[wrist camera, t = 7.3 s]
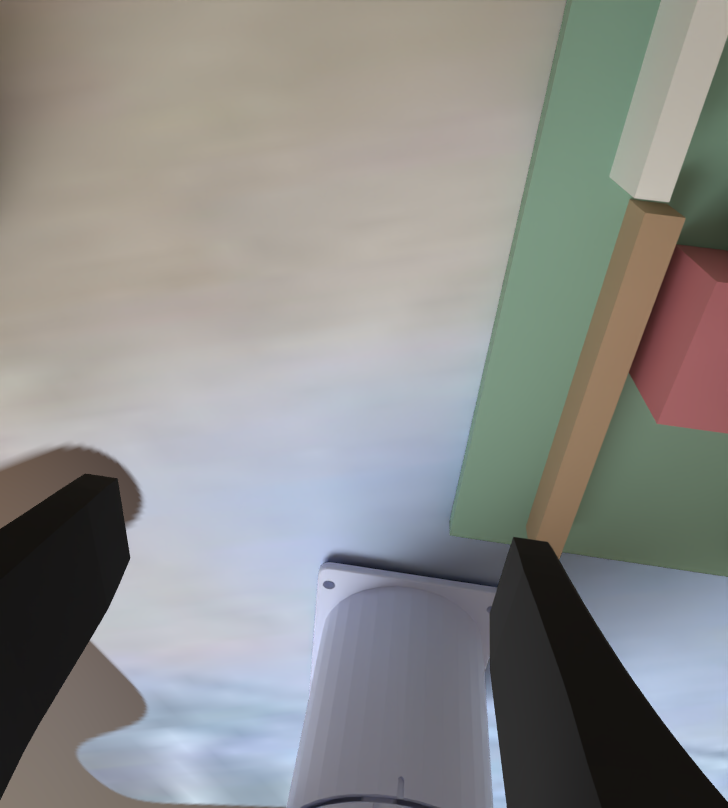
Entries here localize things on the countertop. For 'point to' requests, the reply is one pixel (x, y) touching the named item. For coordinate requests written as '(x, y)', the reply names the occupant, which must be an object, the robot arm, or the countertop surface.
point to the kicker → (687, 343)
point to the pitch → (597, 327)
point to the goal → (669, 96)
